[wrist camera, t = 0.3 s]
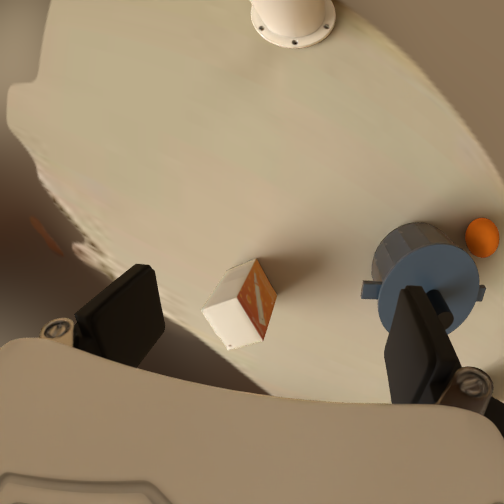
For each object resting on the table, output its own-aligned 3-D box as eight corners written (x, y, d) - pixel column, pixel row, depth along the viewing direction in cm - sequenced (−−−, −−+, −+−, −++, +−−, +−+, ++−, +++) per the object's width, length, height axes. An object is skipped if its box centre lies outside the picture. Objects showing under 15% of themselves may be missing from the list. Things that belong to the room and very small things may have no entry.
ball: (462, 211, 39) (479, 223, 33) (491, 214, 38) (509, 227, 32) (456, 247, 41) (471, 263, 36) (484, 249, 40) (500, 265, 34)
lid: (386, 236, 35) (398, 259, 29) (487, 244, 31) (510, 265, 25) (368, 338, 41) (372, 368, 35) (458, 337, 38) (470, 365, 32)
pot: (360, 218, 44) (370, 241, 35) (471, 227, 39) (499, 250, 30) (351, 301, 50) (354, 337, 41) (452, 304, 45) (470, 337, 36)
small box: (278, 295, 52) (264, 342, 41) (247, 305, 55) (227, 351, 43) (256, 256, 50) (236, 297, 39) (225, 269, 53) (199, 310, 41)
